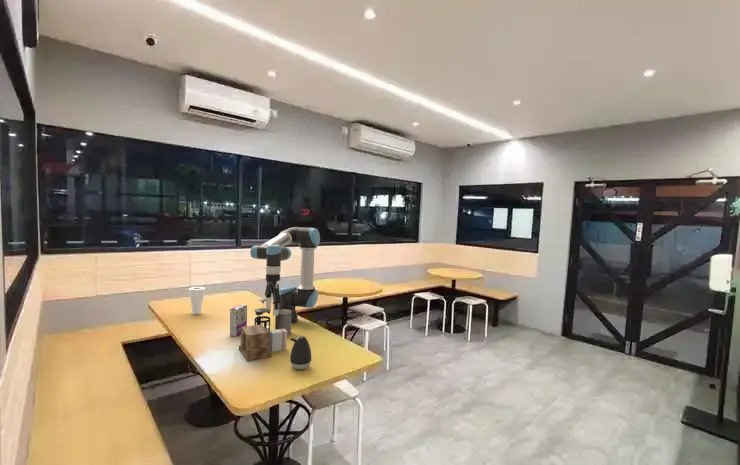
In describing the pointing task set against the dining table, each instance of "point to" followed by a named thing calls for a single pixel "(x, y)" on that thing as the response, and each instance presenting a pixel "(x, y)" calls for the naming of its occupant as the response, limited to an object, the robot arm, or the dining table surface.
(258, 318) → the french press
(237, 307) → the candy bar box
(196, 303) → the cup
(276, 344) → the white carton
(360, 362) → the dining table surface
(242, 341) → the wooden slotted holder
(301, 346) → the pump dispenser
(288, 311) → the pillar candle
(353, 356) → the dining table surface
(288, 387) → the dining table surface
